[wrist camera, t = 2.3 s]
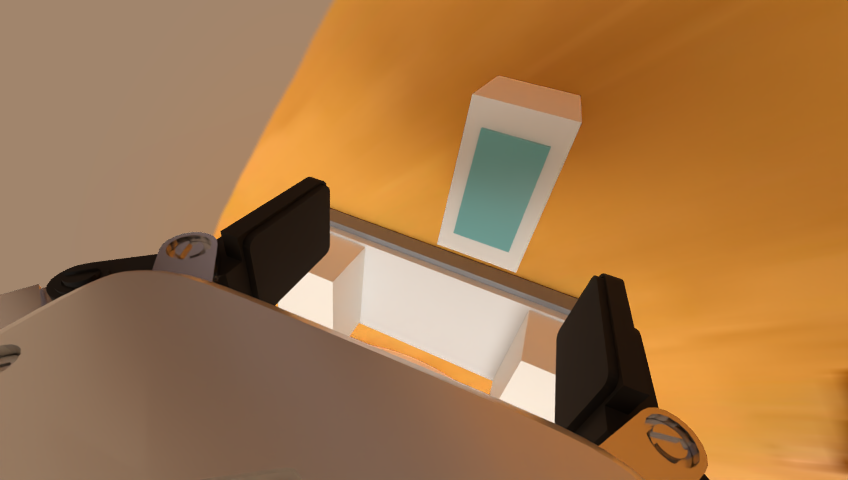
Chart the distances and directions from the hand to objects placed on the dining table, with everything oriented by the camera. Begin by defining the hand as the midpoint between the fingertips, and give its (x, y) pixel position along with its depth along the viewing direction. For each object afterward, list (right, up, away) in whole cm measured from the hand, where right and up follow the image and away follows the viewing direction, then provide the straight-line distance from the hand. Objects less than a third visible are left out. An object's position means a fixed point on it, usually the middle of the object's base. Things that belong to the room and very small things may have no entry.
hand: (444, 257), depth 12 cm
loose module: (+5, +6, +9) cm, 12 cm away
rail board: (+1, -5, +18) cm, 18 cm away
